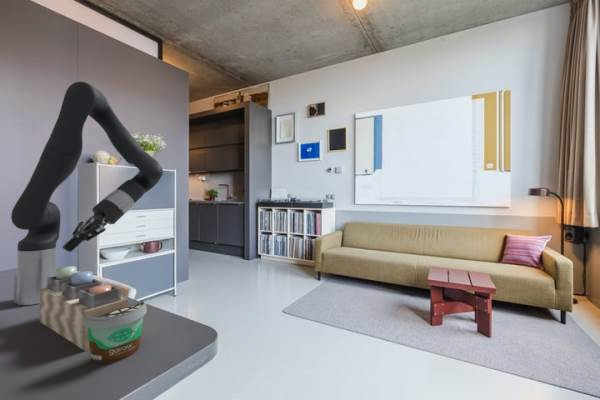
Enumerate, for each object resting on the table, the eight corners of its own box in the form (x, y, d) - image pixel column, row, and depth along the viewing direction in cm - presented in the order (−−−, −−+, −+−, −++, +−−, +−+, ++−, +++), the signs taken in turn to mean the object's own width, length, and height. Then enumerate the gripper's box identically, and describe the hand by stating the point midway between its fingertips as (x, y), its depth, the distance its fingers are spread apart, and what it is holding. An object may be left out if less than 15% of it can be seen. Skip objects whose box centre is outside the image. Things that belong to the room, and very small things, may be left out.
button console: (39, 321, 76) (40, 278, 76) (78, 310, 84) (79, 271, 84) (85, 351, 61) (86, 298, 62) (127, 334, 69) (128, 287, 69)
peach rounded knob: (85, 301, 67) (85, 288, 67) (105, 296, 70) (106, 284, 70) (94, 305, 64) (94, 292, 64) (114, 299, 68) (114, 287, 68)
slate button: (68, 286, 72) (68, 273, 72) (88, 281, 76) (88, 270, 76) (75, 289, 70) (75, 276, 70) (95, 284, 73) (95, 272, 73)
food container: (96, 374, 53) (96, 323, 53) (82, 364, 57) (83, 316, 57) (157, 346, 64) (157, 304, 64) (143, 339, 67) (143, 298, 67)
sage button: (53, 279, 77) (53, 268, 77) (72, 276, 81) (72, 265, 81) (59, 282, 75) (59, 270, 75) (79, 278, 78) (79, 267, 78)
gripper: (95, 197, 89) (45, 239, 79) (115, 198, 82) (64, 244, 72) (112, 213, 94) (67, 254, 83) (133, 215, 87) (87, 260, 76)
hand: (66, 249), depth 77 cm, fingers closed
